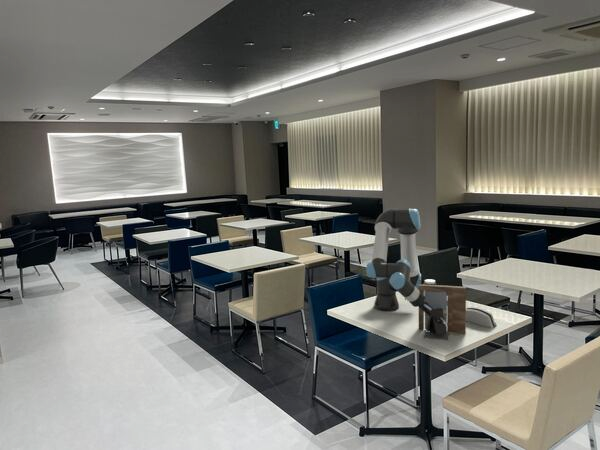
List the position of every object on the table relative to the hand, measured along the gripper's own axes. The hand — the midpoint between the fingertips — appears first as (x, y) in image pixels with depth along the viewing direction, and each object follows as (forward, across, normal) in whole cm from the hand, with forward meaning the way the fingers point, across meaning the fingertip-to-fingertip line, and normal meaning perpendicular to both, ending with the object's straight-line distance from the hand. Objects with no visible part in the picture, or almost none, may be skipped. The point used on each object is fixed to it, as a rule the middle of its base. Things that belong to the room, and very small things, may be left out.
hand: (443, 324), depth 229 cm
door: (+3, -6, -4) cm, 8 cm away
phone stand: (0, 0, -5) cm, 5 cm away
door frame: (+6, -5, -2) cm, 8 cm away
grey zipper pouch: (+24, -8, +15) cm, 30 cm away
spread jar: (+24, -58, +16) cm, 65 cm away
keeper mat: (+1, 0, -7) cm, 7 cm away
